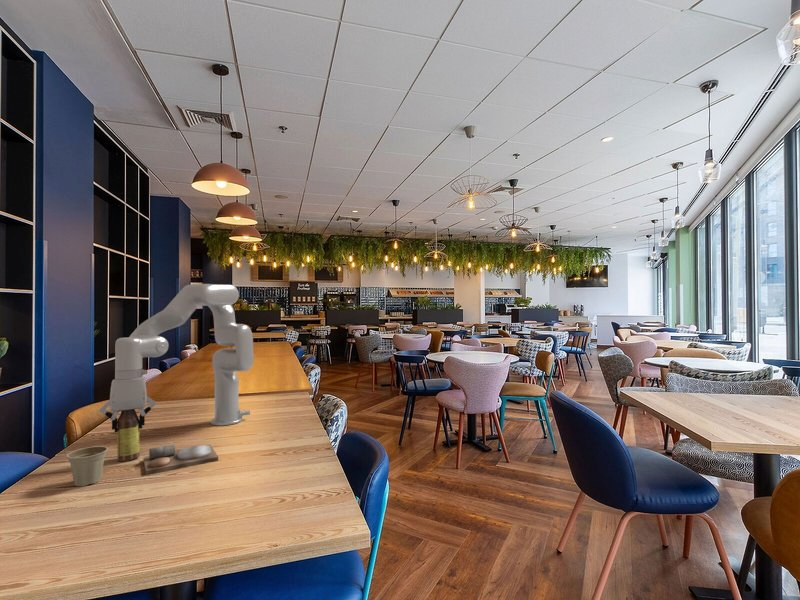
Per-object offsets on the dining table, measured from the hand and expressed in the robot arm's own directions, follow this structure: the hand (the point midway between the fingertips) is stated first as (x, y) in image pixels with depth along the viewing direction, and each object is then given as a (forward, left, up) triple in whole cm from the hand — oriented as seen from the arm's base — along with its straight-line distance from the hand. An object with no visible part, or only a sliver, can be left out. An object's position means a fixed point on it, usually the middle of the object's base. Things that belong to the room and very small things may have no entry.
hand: (128, 429), depth 135 cm
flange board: (-14, +12, -10) cm, 21 cm away
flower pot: (+10, +15, -10) cm, 21 cm away
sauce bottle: (0, 0, -10) cm, 10 cm away
